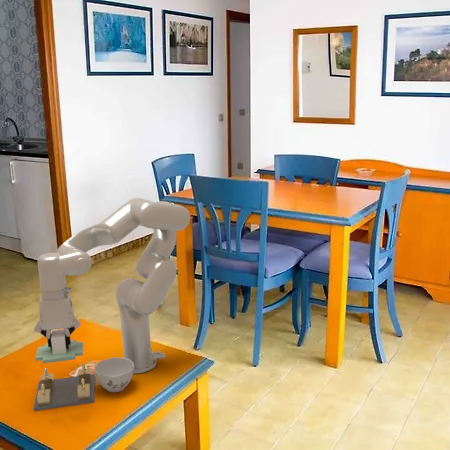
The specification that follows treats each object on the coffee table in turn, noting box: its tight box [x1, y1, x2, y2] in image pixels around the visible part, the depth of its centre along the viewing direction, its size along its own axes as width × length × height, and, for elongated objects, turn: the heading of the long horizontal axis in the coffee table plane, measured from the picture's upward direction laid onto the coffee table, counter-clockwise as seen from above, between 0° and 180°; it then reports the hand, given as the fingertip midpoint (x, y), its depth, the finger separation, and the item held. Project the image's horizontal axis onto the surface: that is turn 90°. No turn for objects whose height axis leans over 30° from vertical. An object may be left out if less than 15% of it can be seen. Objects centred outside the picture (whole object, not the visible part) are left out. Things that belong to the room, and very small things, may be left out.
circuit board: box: [35, 328, 85, 364], centre depth 177 cm, size 14×12×6 cm
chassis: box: [33, 362, 96, 412], centre depth 180 cm, size 18×16×7 cm
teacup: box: [93, 357, 134, 393], centre depth 183 cm, size 15×12×8 cm
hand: (59, 347), depth 177 cm, fingers closed on circuit board, 4 cm apart
